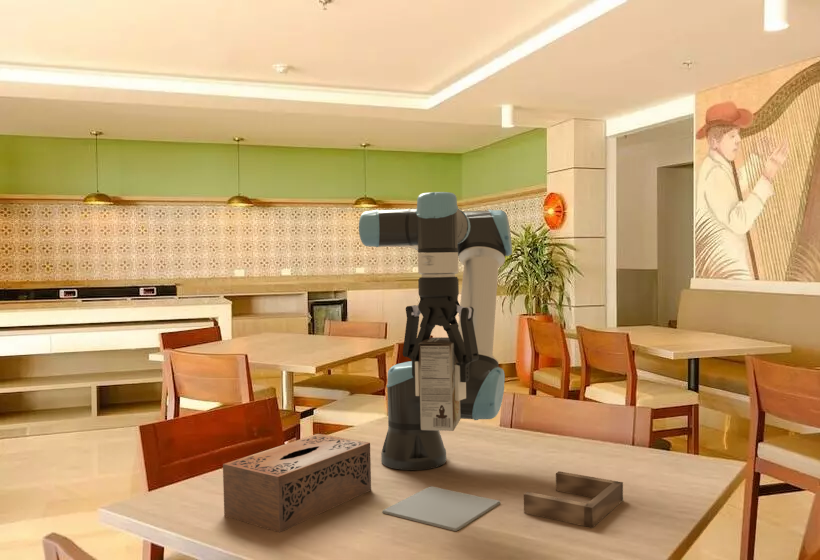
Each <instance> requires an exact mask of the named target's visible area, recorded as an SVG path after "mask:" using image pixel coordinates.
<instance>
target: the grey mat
mask: <svg viewBox="0 0 820 560" xmlns="http://www.w3.org/2000/svg"><path fill="white" fill-rule="evenodd" d="M500 504H501V501H500V500H497V499H493V498H488V497H483V496H478V495H475V494H470V493H465V492H459V491H456V490H449V489H445V488H442V487H441V488H440V487H437V486H428V487H426V488H424V489H422V490H420V491H418V492H415V493H414V494H412V495H410V496H408V497H406V498H404V499H402V500H400V501H399V502H396V503H394V504H392V505H390V506H388V507H386V508H385V509H382V514H386V515H389V516H392V517H393V516H394V517H398V518H401V519H406V520H408V521H409V520H410V521H413V522H416V523H417V522H418V523H421V524H425V525H429V526H433V527H438V528H442V529H444V530H449V531H453V532H458V530H460V529H462V528H464V527H466V526H467V525H468V524H471V523H472V522H473V521H475V520H476V519H478V518H480V517H481V516H483V515H485V514H486V513H487V512H489V511H490V510H492V509H494V508H496V507H497V506H499V505H500Z"/></svg>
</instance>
